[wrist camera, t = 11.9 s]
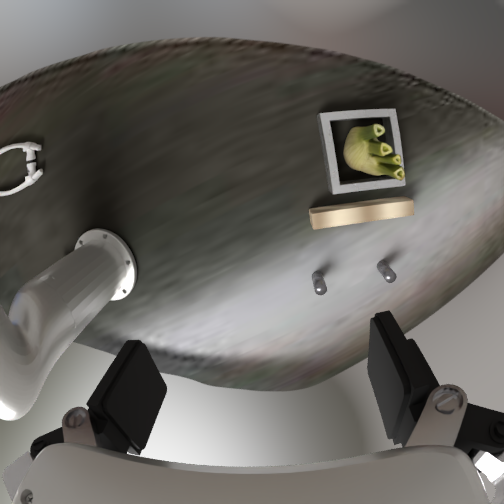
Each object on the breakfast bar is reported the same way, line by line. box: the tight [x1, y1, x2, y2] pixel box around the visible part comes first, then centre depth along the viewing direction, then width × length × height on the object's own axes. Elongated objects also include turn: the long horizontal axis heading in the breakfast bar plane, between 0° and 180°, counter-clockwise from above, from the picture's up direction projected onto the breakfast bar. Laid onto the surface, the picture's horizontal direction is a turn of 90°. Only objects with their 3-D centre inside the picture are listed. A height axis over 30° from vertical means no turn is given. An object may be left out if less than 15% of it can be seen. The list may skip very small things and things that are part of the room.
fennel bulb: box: [343, 124, 405, 181], centre depth 27 cm, size 6×5×12 cm
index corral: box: [316, 109, 405, 194], centre depth 31 cm, size 10×10×3 cm
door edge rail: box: [309, 196, 414, 229], centre depth 34 cm, size 14×2×3 cm, turn 101°
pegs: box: [312, 261, 396, 295], centre depth 37 cm, size 12×2×4 cm, turn 101°
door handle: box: [0, 142, 43, 196], centre depth 36 cm, size 3×10×25 cm
